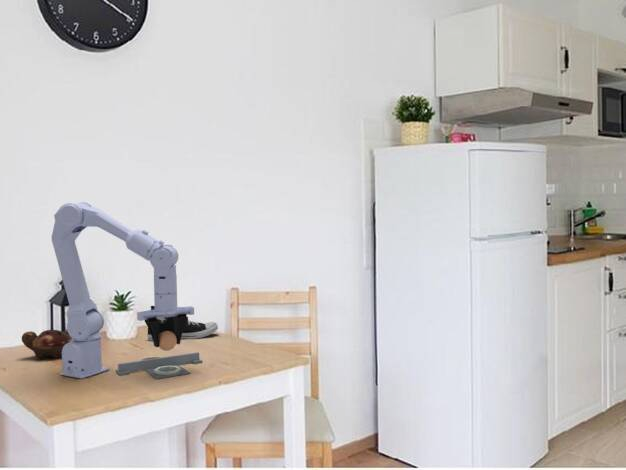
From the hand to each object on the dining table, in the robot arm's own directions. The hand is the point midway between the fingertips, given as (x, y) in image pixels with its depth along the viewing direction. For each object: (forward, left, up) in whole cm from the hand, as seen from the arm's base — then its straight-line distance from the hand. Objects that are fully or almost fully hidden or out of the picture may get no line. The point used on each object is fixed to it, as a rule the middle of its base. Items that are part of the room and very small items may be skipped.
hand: (167, 345), depth 170 cm
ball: (0, 0, -1) cm, 1 cm away
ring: (+6, +10, -7) cm, 14 cm away
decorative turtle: (-2, +41, -8) cm, 42 cm away
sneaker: (+34, +23, -8) cm, 42 cm away
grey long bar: (+3, +5, -7) cm, 9 cm away
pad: (0, 0, -7) cm, 7 cm away
